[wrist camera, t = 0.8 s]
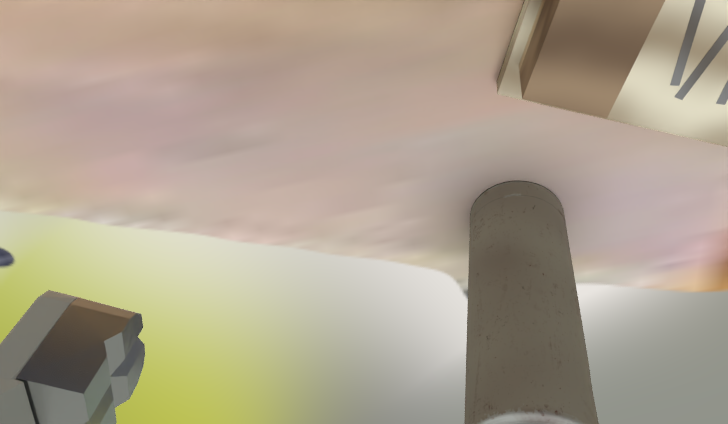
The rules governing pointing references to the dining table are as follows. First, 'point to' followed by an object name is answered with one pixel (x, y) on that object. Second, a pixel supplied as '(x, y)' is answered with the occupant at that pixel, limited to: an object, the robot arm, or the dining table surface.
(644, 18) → the block
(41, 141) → the dining table surface
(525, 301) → the thermos bottle
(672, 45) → the board
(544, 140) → the dining table surface
